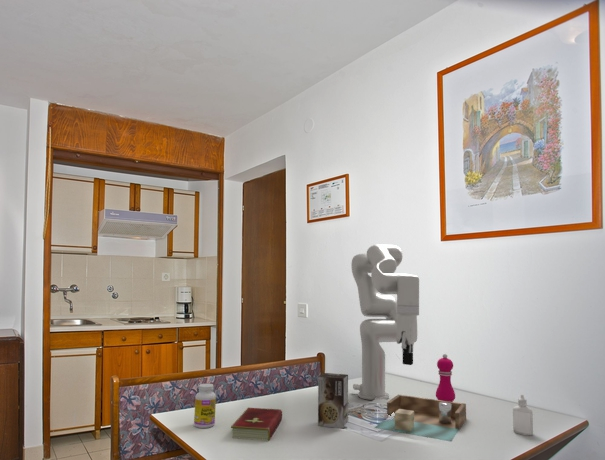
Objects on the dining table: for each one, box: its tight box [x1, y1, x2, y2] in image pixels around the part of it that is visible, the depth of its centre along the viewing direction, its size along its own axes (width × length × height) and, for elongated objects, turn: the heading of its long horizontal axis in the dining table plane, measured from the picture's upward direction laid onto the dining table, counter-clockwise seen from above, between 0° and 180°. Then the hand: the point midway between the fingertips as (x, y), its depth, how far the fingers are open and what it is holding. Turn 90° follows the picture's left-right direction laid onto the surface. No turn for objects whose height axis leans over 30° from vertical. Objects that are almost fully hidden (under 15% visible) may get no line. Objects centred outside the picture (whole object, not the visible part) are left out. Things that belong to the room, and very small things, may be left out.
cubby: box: [374, 394, 467, 442], centre depth 157 cm, size 24×26×6 cm
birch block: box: [395, 409, 414, 431], centre depth 152 cm, size 5×5×5 cm
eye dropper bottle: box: [512, 394, 534, 436], centre depth 152 cm, size 4×6×12 cm
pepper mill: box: [435, 353, 456, 402], centre depth 181 cm, size 7×7×20 cm
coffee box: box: [317, 372, 349, 430], centre depth 158 cm, size 9×6×16 cm
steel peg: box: [439, 402, 451, 424], centre depth 158 cm, size 4×4×6 cm
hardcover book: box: [230, 407, 283, 442], centre depth 152 cm, size 12×21×4 cm, turn 172°
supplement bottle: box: [193, 383, 217, 429], centre depth 154 cm, size 7×7×13 cm
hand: (407, 364), depth 162 cm, fingers closed
